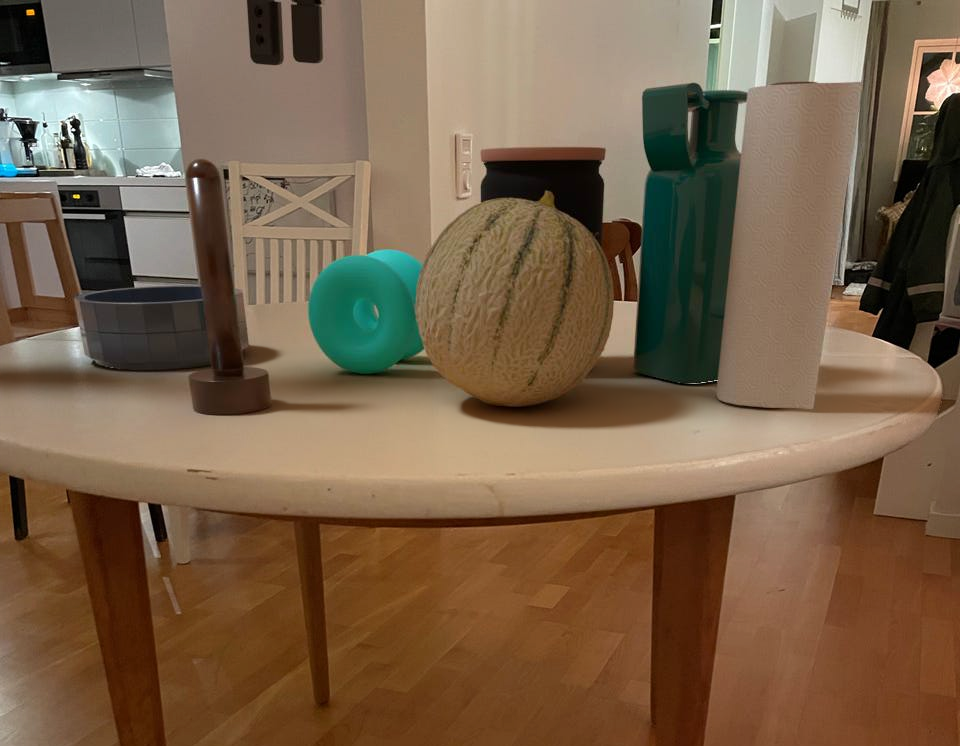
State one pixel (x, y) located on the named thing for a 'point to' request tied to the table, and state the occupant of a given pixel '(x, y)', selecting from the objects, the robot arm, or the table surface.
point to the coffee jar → (549, 179)
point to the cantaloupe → (515, 302)
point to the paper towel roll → (785, 240)
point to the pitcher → (686, 230)
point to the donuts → (367, 310)
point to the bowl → (149, 327)
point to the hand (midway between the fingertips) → (288, 63)
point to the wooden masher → (219, 306)
